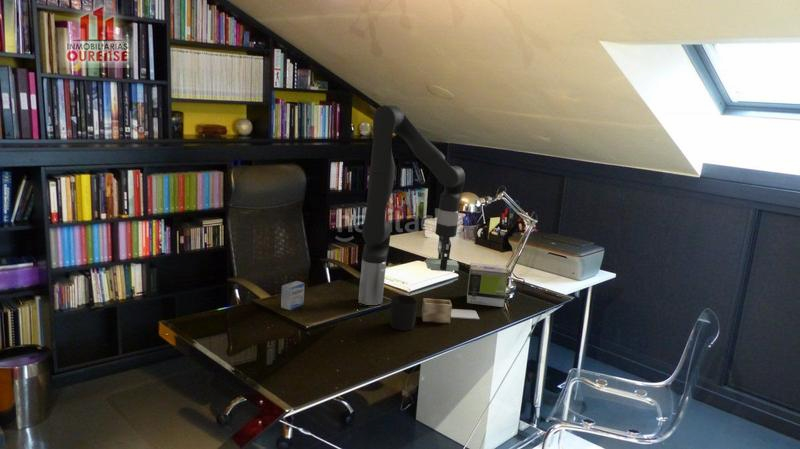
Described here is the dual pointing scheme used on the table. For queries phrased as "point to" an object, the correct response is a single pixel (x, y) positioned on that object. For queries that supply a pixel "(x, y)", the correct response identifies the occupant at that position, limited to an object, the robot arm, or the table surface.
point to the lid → (435, 263)
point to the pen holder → (403, 312)
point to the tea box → (487, 284)
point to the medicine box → (292, 295)
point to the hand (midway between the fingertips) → (441, 266)
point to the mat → (464, 314)
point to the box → (436, 310)
